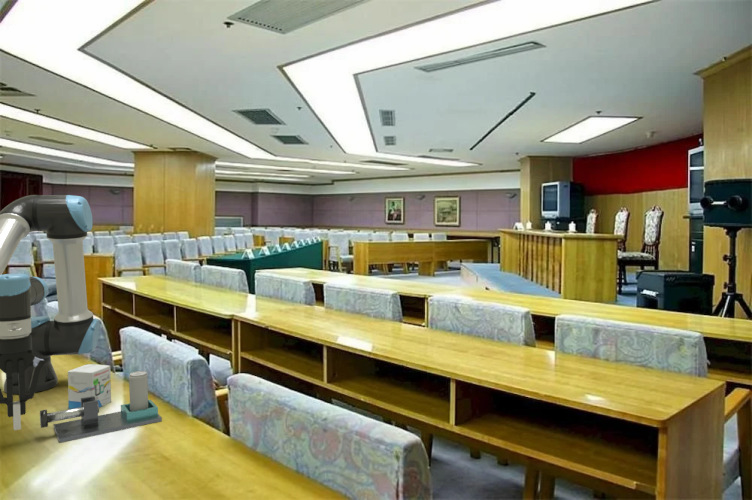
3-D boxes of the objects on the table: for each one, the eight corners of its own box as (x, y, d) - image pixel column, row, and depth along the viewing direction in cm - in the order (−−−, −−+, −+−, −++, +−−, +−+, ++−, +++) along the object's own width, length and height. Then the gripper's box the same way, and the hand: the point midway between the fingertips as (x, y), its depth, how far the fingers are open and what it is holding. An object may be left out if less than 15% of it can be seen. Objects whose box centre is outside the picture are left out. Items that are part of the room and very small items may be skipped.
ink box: (92, 411, 159) (91, 372, 159) (67, 409, 161) (66, 370, 160) (112, 401, 168) (111, 364, 167) (88, 399, 169) (87, 363, 169)
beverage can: (152, 412, 155) (151, 371, 155) (139, 418, 151) (138, 376, 150) (138, 410, 157) (137, 370, 156) (126, 416, 152) (125, 374, 152)
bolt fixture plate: (53, 427, 147) (52, 399, 146) (150, 408, 161) (150, 382, 161) (59, 442, 137) (58, 412, 137) (161, 421, 152) (161, 393, 151)
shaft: (40, 424, 141) (39, 408, 141) (96, 414, 149) (96, 398, 149) (41, 430, 138) (41, 413, 138) (99, 418, 146) (99, 402, 146)
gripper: (-19, 342, 128) (-15, 439, 130) (45, 335, 136) (48, 426, 137) (-19, 336, 134) (-15, 429, 136) (42, 330, 142) (45, 418, 143)
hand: (17, 427), depth 137 cm, fingers closed
